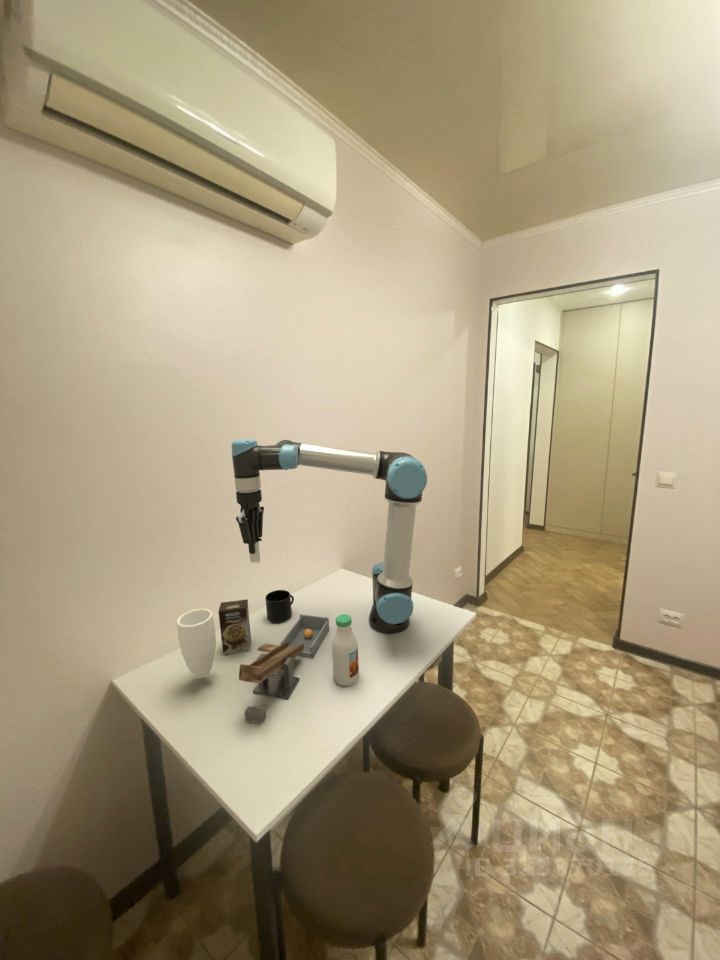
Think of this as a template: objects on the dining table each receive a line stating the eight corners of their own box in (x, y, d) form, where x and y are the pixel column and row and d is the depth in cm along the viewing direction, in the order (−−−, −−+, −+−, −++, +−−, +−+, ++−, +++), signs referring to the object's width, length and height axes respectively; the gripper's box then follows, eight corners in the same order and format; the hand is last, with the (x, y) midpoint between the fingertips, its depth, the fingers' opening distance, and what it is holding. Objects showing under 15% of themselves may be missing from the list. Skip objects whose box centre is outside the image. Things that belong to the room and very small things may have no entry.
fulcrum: (299, 680, 116) (297, 652, 114) (288, 699, 109) (285, 670, 107) (266, 674, 119) (264, 647, 117) (253, 693, 111) (250, 665, 110)
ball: (312, 639, 137) (314, 630, 138) (310, 638, 134) (311, 629, 135) (305, 638, 137) (306, 629, 139) (302, 637, 135) (303, 628, 136)
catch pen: (329, 630, 141) (328, 617, 140) (312, 658, 126) (311, 644, 125) (301, 626, 144) (300, 614, 143) (281, 653, 129) (280, 640, 128)
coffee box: (222, 655, 129) (217, 611, 126) (225, 644, 135) (220, 601, 132) (250, 651, 131) (246, 607, 127) (251, 640, 137) (247, 598, 134)
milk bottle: (341, 690, 111) (338, 628, 107) (329, 675, 118) (325, 616, 114) (364, 680, 115) (361, 619, 111) (350, 665, 122) (348, 608, 118)
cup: (185, 675, 120) (176, 612, 116) (220, 666, 124) (213, 604, 119) (183, 698, 110) (173, 630, 106) (222, 687, 114) (214, 621, 110)
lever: (303, 654, 125) (304, 638, 125) (259, 688, 98) (261, 668, 98) (265, 648, 128) (266, 633, 129) (213, 679, 101) (214, 660, 102)
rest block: (266, 717, 103) (265, 709, 102) (262, 723, 101) (261, 715, 100) (249, 714, 104) (248, 706, 103) (245, 720, 102) (244, 711, 102)
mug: (301, 613, 153) (300, 592, 151) (276, 626, 145) (275, 604, 143) (287, 605, 159) (285, 585, 158) (262, 617, 151) (260, 596, 149)
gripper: (248, 485, 126) (255, 553, 131) (225, 494, 114) (233, 569, 119) (269, 485, 124) (275, 554, 129) (247, 495, 112) (255, 571, 117)
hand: (255, 561), depth 124 cm, fingers closed
